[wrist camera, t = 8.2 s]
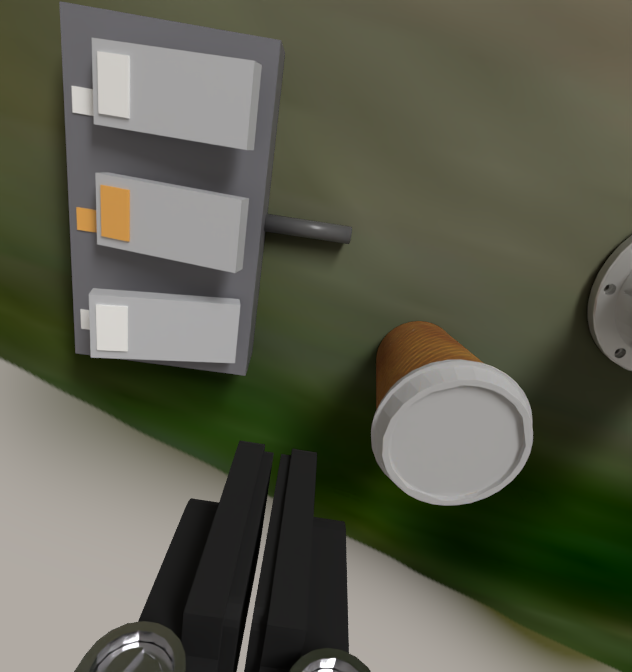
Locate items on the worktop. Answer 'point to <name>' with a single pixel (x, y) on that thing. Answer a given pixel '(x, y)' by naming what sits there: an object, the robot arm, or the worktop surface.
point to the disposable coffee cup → (446, 418)
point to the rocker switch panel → (169, 173)
